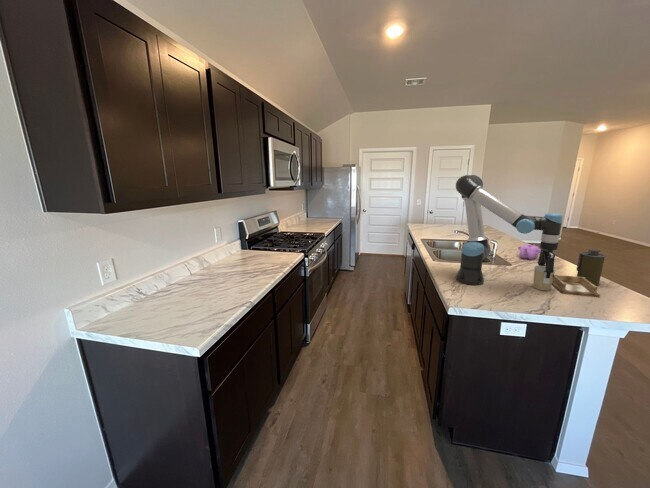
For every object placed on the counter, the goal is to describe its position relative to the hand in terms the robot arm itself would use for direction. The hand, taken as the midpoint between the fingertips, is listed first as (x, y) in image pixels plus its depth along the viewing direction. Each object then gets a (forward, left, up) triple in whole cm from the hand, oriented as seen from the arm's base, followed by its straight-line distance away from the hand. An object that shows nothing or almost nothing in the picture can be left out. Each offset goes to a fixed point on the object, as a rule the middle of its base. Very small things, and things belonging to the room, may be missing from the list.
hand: (542, 280), depth 157 cm
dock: (+15, +3, -5) cm, 16 cm away
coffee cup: (0, 0, -5) cm, 5 cm away
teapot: (+10, +67, -5) cm, 68 cm away
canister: (+27, +18, -5) cm, 33 cm away
